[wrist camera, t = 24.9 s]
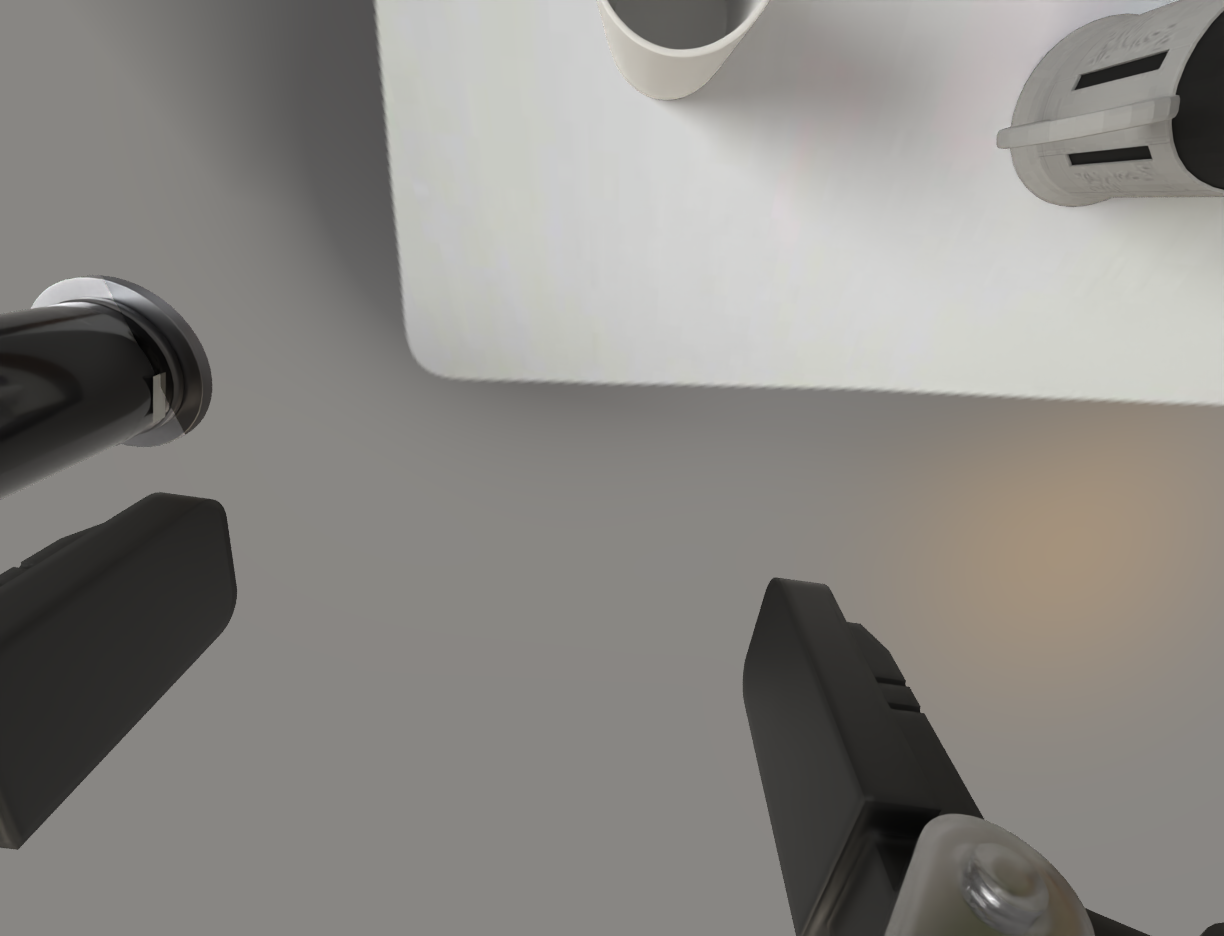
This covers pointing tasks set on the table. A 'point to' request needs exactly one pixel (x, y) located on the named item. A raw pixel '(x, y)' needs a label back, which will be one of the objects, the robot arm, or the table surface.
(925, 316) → the table surface
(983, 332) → the table surface
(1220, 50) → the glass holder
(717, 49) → the mug
